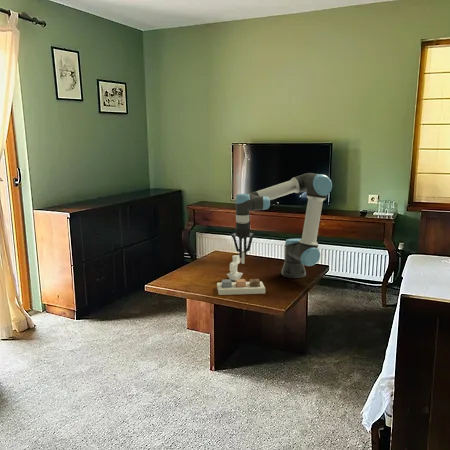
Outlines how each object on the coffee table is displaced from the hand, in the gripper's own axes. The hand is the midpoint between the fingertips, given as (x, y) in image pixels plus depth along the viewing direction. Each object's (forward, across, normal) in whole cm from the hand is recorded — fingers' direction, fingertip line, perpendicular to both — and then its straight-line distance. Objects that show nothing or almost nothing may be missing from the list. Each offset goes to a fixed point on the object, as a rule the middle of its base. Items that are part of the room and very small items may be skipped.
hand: (242, 263), depth 250 cm
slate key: (+14, +9, +1) cm, 17 cm away
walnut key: (+14, -7, +1) cm, 16 cm away
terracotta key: (+14, +1, +1) cm, 14 cm away
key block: (+16, +2, +1) cm, 16 cm away
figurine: (+16, +2, -19) cm, 25 cm away
